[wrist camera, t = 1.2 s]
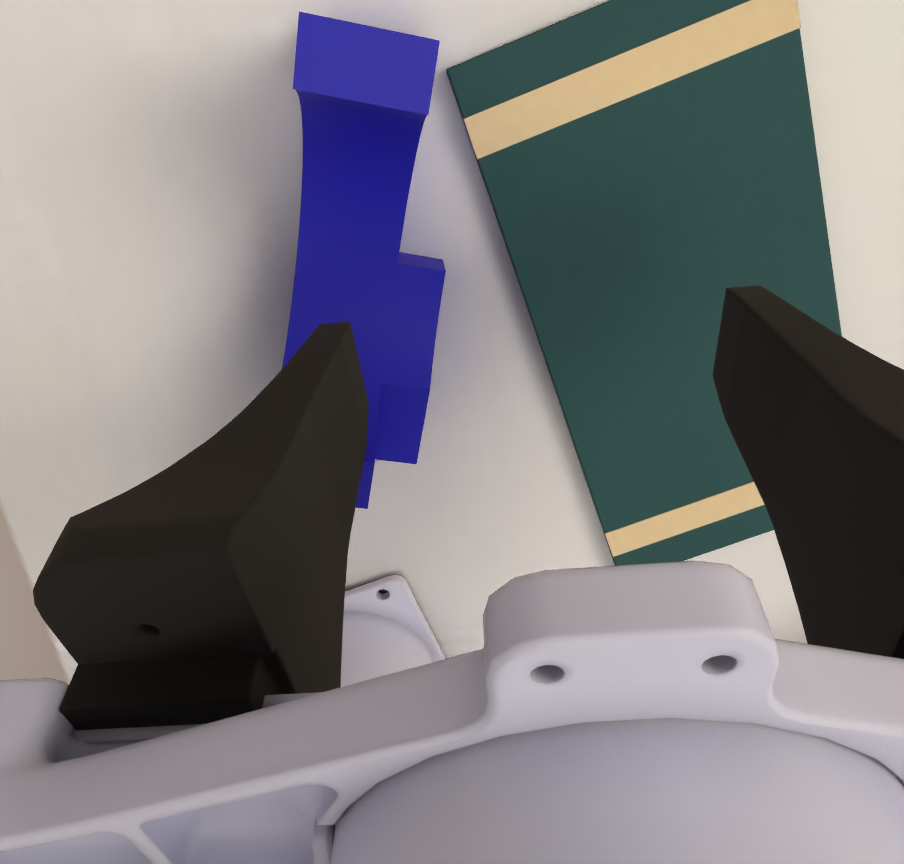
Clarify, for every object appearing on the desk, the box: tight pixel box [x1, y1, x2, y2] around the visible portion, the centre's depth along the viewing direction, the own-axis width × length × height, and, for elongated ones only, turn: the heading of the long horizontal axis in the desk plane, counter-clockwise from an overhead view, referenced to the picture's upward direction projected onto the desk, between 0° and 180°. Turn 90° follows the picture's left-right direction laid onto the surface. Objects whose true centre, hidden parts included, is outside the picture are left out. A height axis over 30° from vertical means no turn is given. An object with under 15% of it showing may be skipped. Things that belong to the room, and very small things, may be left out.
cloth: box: [447, 0, 842, 566], centre depth 25 cm, size 10×20×1 cm, turn 21°
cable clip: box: [282, 12, 446, 509], centre depth 21 cm, size 12×4×6 cm, turn 170°
